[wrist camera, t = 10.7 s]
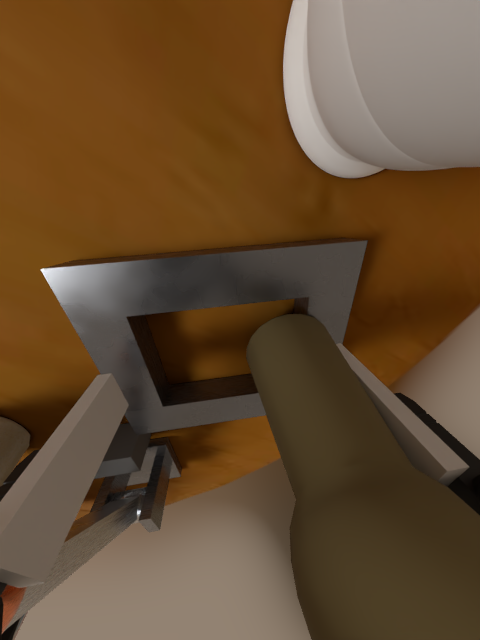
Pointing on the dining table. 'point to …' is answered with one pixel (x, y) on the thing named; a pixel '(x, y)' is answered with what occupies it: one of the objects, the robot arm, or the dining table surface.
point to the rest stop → (124, 452)
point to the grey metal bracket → (155, 471)
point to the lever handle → (77, 550)
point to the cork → (361, 502)
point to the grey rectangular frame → (196, 293)
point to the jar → (384, 84)
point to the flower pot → (11, 446)
